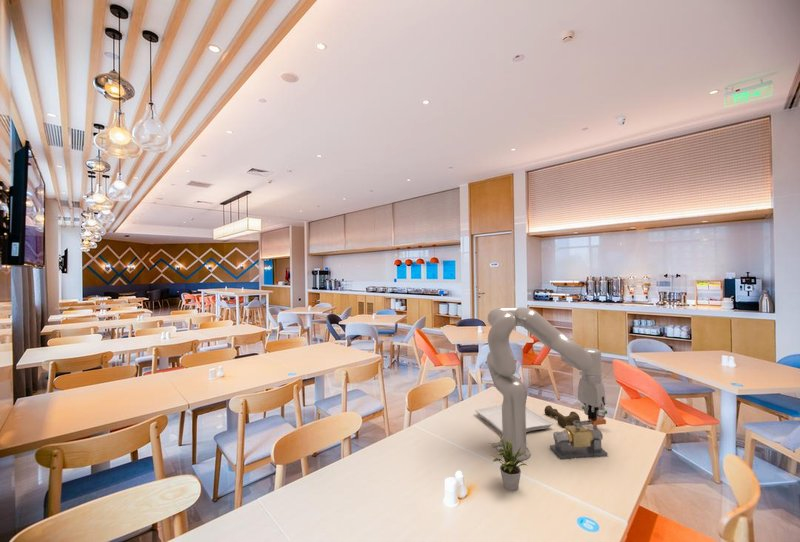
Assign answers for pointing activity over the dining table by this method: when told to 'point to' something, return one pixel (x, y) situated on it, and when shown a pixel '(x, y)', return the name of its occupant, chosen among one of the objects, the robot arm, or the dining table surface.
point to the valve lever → (590, 422)
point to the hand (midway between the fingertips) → (592, 419)
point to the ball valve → (578, 443)
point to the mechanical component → (597, 414)
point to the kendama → (561, 416)
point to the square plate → (495, 418)
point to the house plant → (509, 466)
